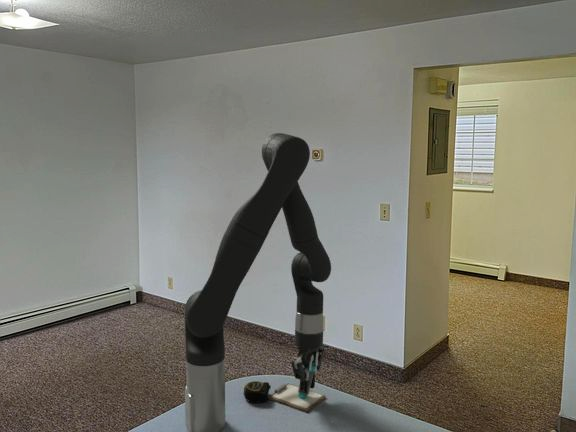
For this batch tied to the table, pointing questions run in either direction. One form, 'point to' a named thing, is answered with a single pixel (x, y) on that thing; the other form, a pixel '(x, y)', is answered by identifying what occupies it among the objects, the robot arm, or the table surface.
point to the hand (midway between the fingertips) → (307, 389)
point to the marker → (311, 373)
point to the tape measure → (256, 391)
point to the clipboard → (296, 398)
